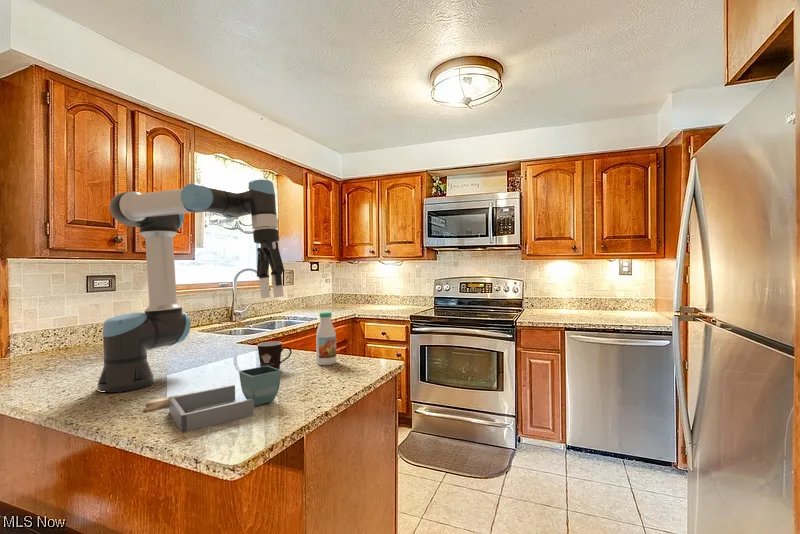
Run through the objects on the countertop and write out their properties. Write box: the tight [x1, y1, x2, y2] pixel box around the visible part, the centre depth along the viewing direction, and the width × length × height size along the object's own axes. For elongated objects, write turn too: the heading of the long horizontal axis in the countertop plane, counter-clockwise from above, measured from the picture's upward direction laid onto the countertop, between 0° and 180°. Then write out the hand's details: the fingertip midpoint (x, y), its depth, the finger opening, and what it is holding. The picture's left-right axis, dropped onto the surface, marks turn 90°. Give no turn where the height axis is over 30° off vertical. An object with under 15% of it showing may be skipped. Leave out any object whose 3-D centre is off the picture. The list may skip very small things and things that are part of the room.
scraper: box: [145, 391, 195, 411], centre depth 112 cm, size 15×8×2 cm, turn 129°
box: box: [168, 384, 255, 434], centre depth 103 cm, size 16×17×4 cm
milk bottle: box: [315, 311, 338, 366], centre depth 154 cm, size 8×8×20 cm
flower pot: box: [238, 366, 282, 407], centre depth 111 cm, size 9×9×9 cm
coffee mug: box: [257, 341, 293, 370], centre depth 144 cm, size 12×9×10 cm
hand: (272, 297), depth 122 cm, fingers open, 13 cm apart
